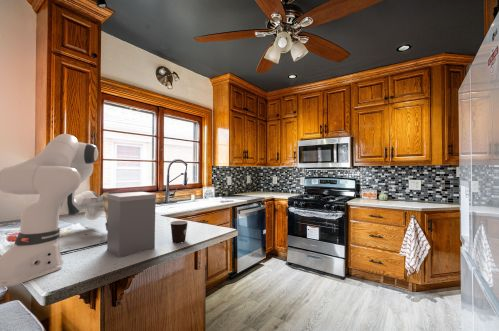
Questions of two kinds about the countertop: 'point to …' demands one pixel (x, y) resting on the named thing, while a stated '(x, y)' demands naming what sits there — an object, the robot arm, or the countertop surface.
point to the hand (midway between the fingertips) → (107, 195)
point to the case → (131, 223)
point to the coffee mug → (178, 231)
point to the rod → (106, 208)
